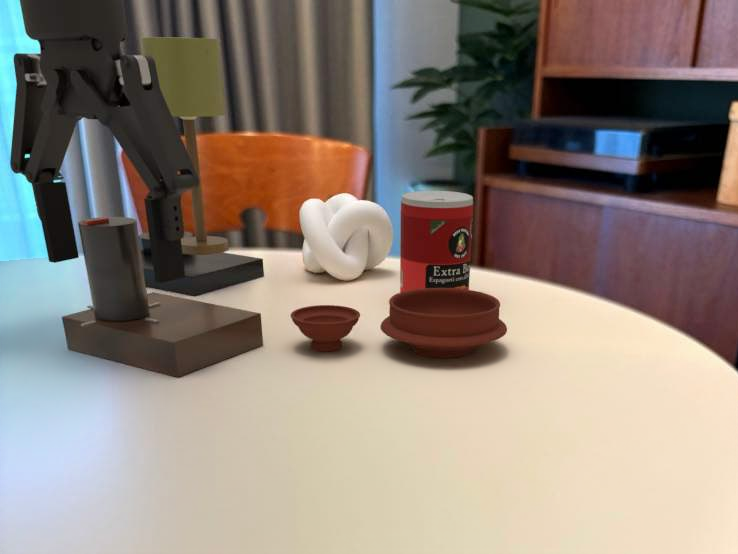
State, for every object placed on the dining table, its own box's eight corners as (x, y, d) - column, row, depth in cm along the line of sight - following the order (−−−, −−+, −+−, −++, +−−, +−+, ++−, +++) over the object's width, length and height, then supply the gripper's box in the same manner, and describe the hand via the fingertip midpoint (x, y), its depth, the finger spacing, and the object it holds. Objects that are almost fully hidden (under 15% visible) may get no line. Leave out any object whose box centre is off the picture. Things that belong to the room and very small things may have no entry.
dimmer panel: (55, 350, 75) (47, 316, 74) (153, 321, 84) (149, 289, 83) (169, 380, 69) (164, 343, 67) (263, 345, 78) (260, 311, 76)
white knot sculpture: (361, 290, 96) (359, 208, 92) (273, 279, 101) (268, 200, 96) (401, 271, 105) (402, 196, 101) (319, 262, 110) (317, 189, 105)
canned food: (431, 313, 88) (434, 203, 83) (385, 298, 93) (385, 193, 88) (483, 302, 92) (489, 197, 87) (436, 288, 98) (439, 188, 92)
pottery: (511, 369, 73) (515, 319, 70) (284, 366, 73) (281, 316, 70) (499, 331, 83) (502, 286, 80) (300, 328, 83) (297, 283, 80)
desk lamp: (152, 251, 95) (123, 37, 84) (201, 240, 101) (180, 39, 90) (203, 259, 91) (180, 37, 81) (251, 248, 97) (235, 39, 86)
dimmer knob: (124, 304, 78) (109, 211, 74) (160, 312, 76) (147, 216, 72) (83, 315, 75) (65, 218, 70) (119, 324, 72) (103, 224, 68)
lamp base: (96, 278, 100) (90, 243, 98) (170, 260, 109) (166, 228, 107) (194, 297, 93) (190, 260, 91) (265, 276, 102) (263, 242, 100)
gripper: (-76, -19, 65) (-11, 259, 76) (148, -30, 54) (187, 298, 65) (8, -12, 71) (57, 246, 82) (227, -21, 60) (250, 279, 70)
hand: (115, 269), depth 73 cm, fingers open, 13 cm apart
